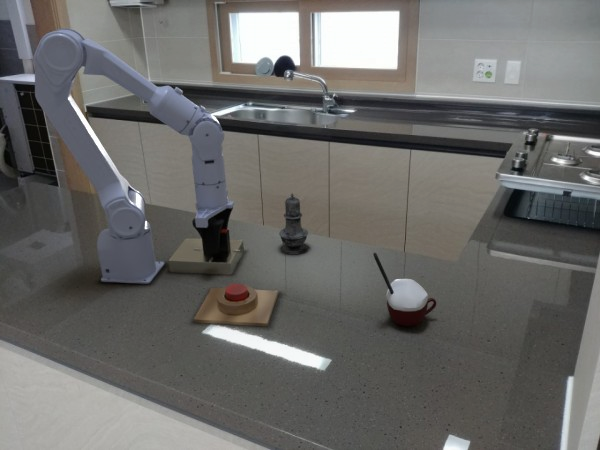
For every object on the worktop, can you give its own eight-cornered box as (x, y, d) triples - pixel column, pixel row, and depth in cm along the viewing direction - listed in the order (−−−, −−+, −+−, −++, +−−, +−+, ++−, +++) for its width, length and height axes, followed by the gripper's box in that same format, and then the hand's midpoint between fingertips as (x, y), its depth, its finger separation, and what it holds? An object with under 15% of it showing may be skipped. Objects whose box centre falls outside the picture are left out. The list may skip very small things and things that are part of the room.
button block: (193, 322, 86) (192, 309, 85) (211, 290, 95) (210, 278, 94) (267, 327, 84) (266, 313, 83) (278, 294, 93) (278, 281, 92)
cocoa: (436, 314, 86) (441, 246, 81) (431, 336, 80) (437, 265, 76) (377, 305, 89) (379, 239, 84) (369, 325, 83) (371, 257, 79)
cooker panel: (169, 272, 101) (168, 259, 100) (187, 249, 110) (185, 237, 109) (234, 275, 100) (233, 262, 99) (246, 251, 109) (246, 239, 108)
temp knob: (203, 251, 103) (200, 231, 102) (205, 247, 105) (203, 227, 103) (228, 252, 103) (226, 232, 101) (230, 248, 104) (228, 228, 103)
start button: (223, 302, 87) (222, 294, 86) (229, 291, 90) (228, 282, 90) (245, 303, 87) (244, 295, 86) (250, 292, 90) (249, 283, 89)
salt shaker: (305, 256, 106) (304, 199, 101) (276, 254, 107) (273, 197, 102) (310, 243, 111) (309, 188, 107) (283, 241, 112) (280, 187, 108)
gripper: (220, 194, 91) (226, 265, 96) (240, 168, 104) (245, 232, 110) (180, 193, 92) (189, 263, 97) (205, 168, 105) (212, 231, 111)
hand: (216, 247), depth 104 cm, fingers open, 4 cm apart
